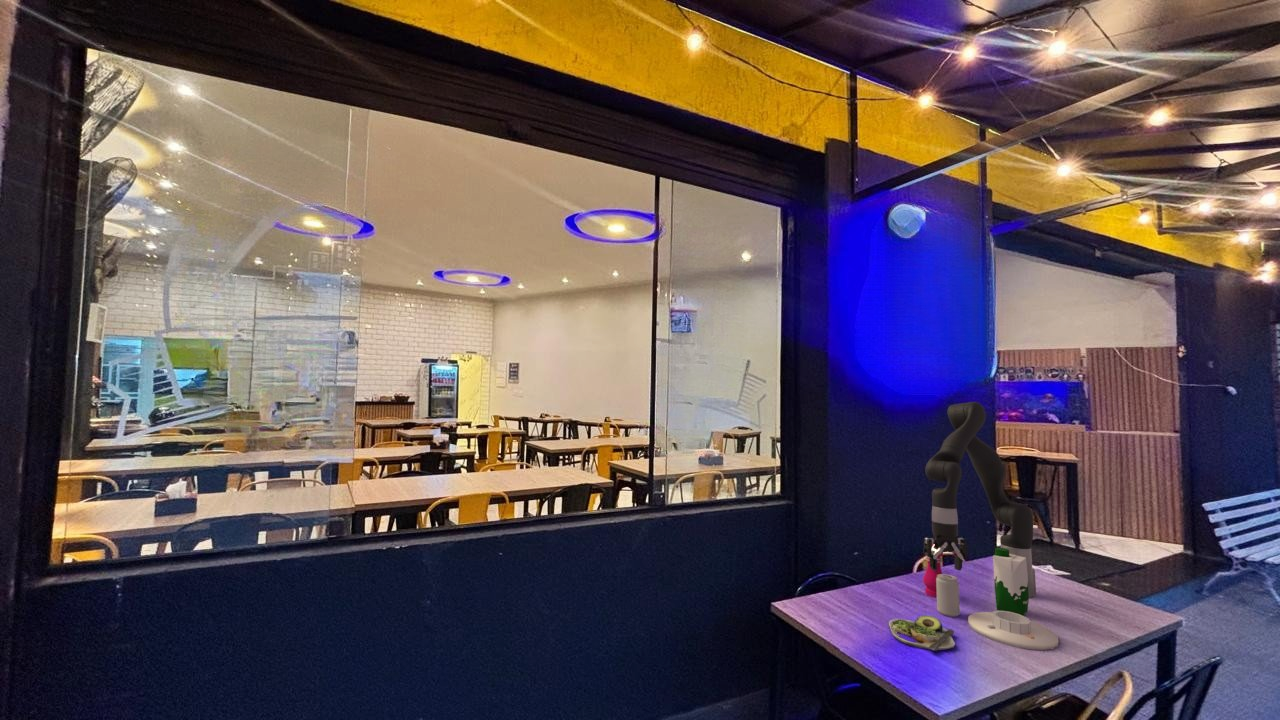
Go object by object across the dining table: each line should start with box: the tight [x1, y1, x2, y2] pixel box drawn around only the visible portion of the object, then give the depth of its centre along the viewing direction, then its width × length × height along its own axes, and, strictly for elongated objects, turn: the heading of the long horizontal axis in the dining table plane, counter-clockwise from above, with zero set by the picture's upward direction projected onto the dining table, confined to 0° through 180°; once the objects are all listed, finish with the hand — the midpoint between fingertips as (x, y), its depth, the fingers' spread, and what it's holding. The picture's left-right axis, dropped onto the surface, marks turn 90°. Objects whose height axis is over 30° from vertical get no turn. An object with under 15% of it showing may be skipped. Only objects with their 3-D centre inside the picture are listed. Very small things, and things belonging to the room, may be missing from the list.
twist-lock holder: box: [967, 610, 1059, 651], centre depth 151 cm, size 22×22×4 cm
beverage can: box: [936, 573, 961, 618], centre depth 164 cm, size 6×6×12 cm
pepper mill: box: [922, 543, 944, 599], centre depth 181 cm, size 7×7×20 cm
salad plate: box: [888, 615, 956, 651], centre depth 145 cm, size 19×18×5 cm
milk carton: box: [992, 547, 1030, 616], centre depth 168 cm, size 9×9×20 cm
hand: (946, 569), depth 165 cm, fingers open, 8 cm apart
